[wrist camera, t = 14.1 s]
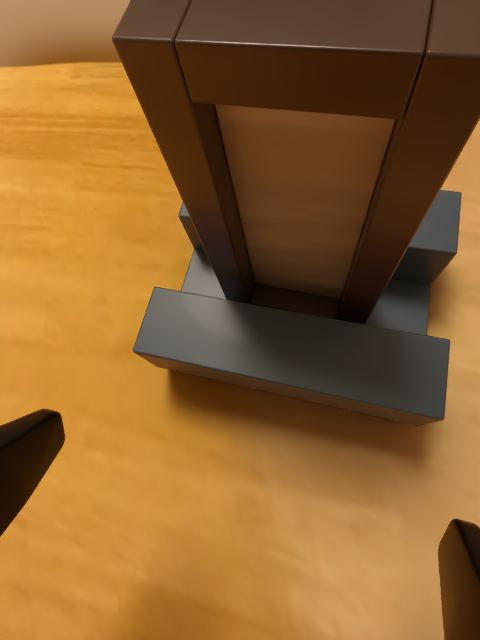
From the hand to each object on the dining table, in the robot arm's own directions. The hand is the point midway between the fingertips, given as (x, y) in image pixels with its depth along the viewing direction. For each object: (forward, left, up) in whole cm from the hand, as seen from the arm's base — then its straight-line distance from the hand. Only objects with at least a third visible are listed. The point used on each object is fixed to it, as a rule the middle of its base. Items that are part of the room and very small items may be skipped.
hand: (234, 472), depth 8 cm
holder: (+4, -7, -9) cm, 12 cm away
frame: (+4, -7, -8) cm, 11 cm away
